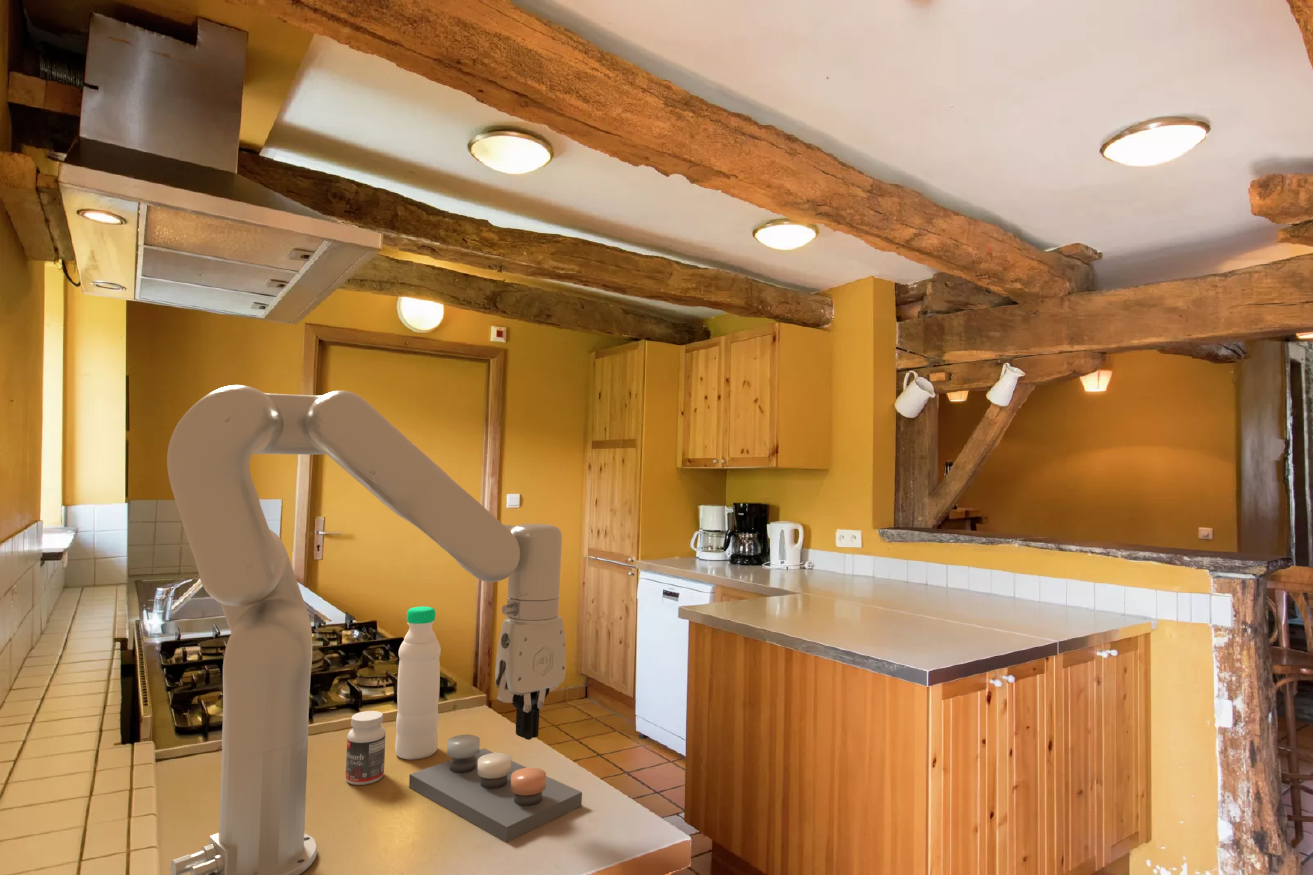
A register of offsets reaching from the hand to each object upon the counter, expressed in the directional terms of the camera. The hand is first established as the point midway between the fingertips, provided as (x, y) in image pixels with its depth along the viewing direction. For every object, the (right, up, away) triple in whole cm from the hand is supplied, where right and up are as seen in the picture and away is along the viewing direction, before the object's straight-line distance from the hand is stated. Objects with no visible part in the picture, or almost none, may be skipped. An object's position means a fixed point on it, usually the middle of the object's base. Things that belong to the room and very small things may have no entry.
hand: (526, 735), depth 105 cm
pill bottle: (-28, -11, +10) cm, 32 cm away
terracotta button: (0, -8, 0) cm, 8 cm away
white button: (-6, -8, +5) cm, 11 cm away
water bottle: (-23, -12, +21) cm, 33 cm away
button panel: (-6, -11, +5) cm, 14 cm away
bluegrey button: (-12, -7, +10) cm, 17 cm away
